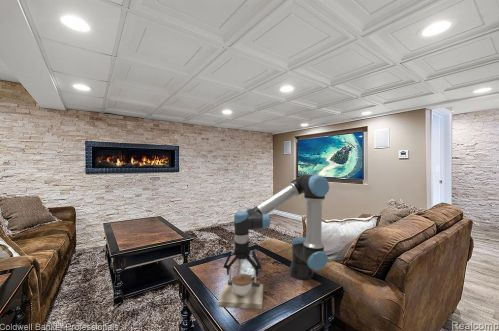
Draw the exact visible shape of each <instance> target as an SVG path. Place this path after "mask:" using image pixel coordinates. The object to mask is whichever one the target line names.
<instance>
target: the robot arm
mask: <svg viewBox="0 0 499 331" xmlns="http://www.w3.org/2000/svg"><path fill="white" fill-rule="evenodd" d="M329 190H330V183H329V182H328V180H327V178H326V177H325V176H322V175H319V174H307V173H305V174H303V175H300V176H299V177H296V178H295V179H293V180H292V181H290V182H288V185H287V186H285V187H283V188H282V189H281V190H279V191H278V192H276V193H274V194H273V195H272V196H270V197H269V198H267V199H266V200H263V201H262V202H261V203H259V204H258V205H256V206H254V207H253V208H248V209H246V210H245V211H237V212H235V213H234V215H233V216H234V218H233V220H234V221H233V222H234V225H233V227H234V250H232V249H231V248H230V249H229V251H228V256H227V258H226V259H225V261H224V264H223V269H226V275H227V276H228V280H229V282H231V280H232V266H233V264H234V263H235V262H236V261H237V260H246V261H247V262H249V263H250V265H251V266H252V267H253V268H254V269H253V276H254V278H253V279H254V280H253V281H254V283H256V281H257V277H258V276H259V270H261V269H262V264H261V262H260V260H259V258H258V256H257V254H256V251H255V249H252V250H250V241H249V240H250V238H249V231H250V230H259V229H268V228H270V226H271V217H270V215H269V214H270V213H271V212H272V211H274V210H275V209H277V208H279V207H281V206H282V205H283V204H285V203H286V202H288V201H290V200H291V199H293V198H294V197H298V196H300V195H302V194H303V196H304V197H303V198H304V199H305V201H306V219H305V220H306V221H305V222H306V228H305V230H306V231H305V235H306V236H305V237H303V236H302V237H300V236H299V237H295V238H293V239H292V240H291V247H292V248H291V249H292V250H291V252H292V253H291V254H292V256H291V259H292V260H291V263H290V267H289V275H290V277H292V278H294V279H297V280H300V279H308V280H310V279H309V278H311V277H312V276H313V274H314V271H322V270H323V269H324V268H325V267H326V266H327V263H328V262H329V258H328V255H327V253H326V252H325V245H324V243H322V225H323V224H322V221H323V216H322V215H323V201H324V200H325V199H326V195H327V194H328V193H329ZM232 255H235V256H234V257H233V258H232V260H231V261H230V259H231V256H232ZM250 255H252V258H253V259H252V258H251V256H250ZM229 261H230V262H229ZM314 275H315V274H314ZM313 277H314V276H313ZM311 279H312V278H311Z"/></svg>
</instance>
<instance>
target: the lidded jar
mask: <svg viewBox="0 0 499 331" xmlns="http://www.w3.org/2000/svg"><path fill="white" fill-rule="evenodd" d="M231 280H232V285H233V290H234V291H235V293H236V294H237V295H238V296H246V295H247V294H248V293H249V292H250V290H251V287H252V281H253V277H252V276H251V275H250V274H246V273H237V274H234V276H232V277H231Z"/></svg>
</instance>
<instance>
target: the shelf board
mask: <svg viewBox="0 0 499 331" xmlns="http://www.w3.org/2000/svg"><path fill="white" fill-rule="evenodd" d="M263 299H264V284H262V283H260V281H257V280H256V283H254V280H252V287H251V290H250V292H249V293H248V294H247V295H246V296H238V295H237V294H236V293H235V291H234V290H233V285H232V279H231V282H229V279H228V281H227V282H224V285H223V288H222V290H221V293H220V296H219V298H218V300H217V307H222V308H223V307H224V308H235V309H237V308H238V309H252V310H253V309H254V310H262V309H263Z"/></svg>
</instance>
